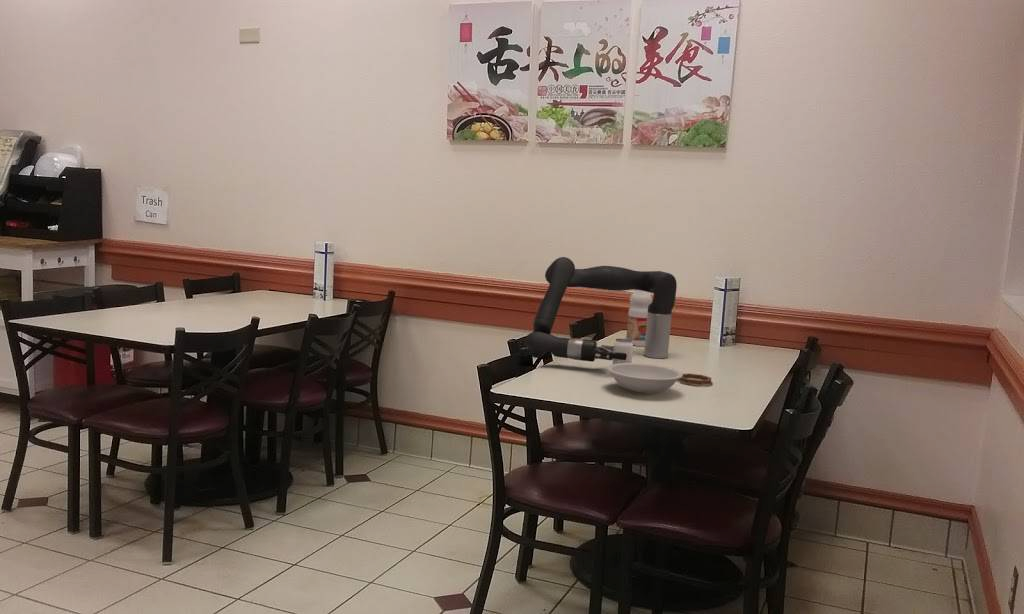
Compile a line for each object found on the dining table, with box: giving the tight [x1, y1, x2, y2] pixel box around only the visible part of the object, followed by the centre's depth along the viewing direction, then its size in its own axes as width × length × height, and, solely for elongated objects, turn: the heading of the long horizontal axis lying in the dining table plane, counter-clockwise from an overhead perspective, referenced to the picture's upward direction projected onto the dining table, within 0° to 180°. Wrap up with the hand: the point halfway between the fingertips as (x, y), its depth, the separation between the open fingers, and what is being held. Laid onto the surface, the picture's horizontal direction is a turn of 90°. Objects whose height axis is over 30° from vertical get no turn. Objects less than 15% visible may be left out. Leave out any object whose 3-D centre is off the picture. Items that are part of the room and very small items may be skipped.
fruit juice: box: [625, 290, 653, 347], centre depth 351 cm, size 9×9×28 cm
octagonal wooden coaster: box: [676, 373, 714, 387], centre depth 285 cm, size 12×12×2 cm
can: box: [612, 338, 634, 364], centre depth 290 cm, size 6×6×12 cm
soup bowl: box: [606, 362, 684, 394], centre depth 267 cm, size 24×24×7 cm
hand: (628, 354), depth 290 cm, fingers open, 8 cm apart
